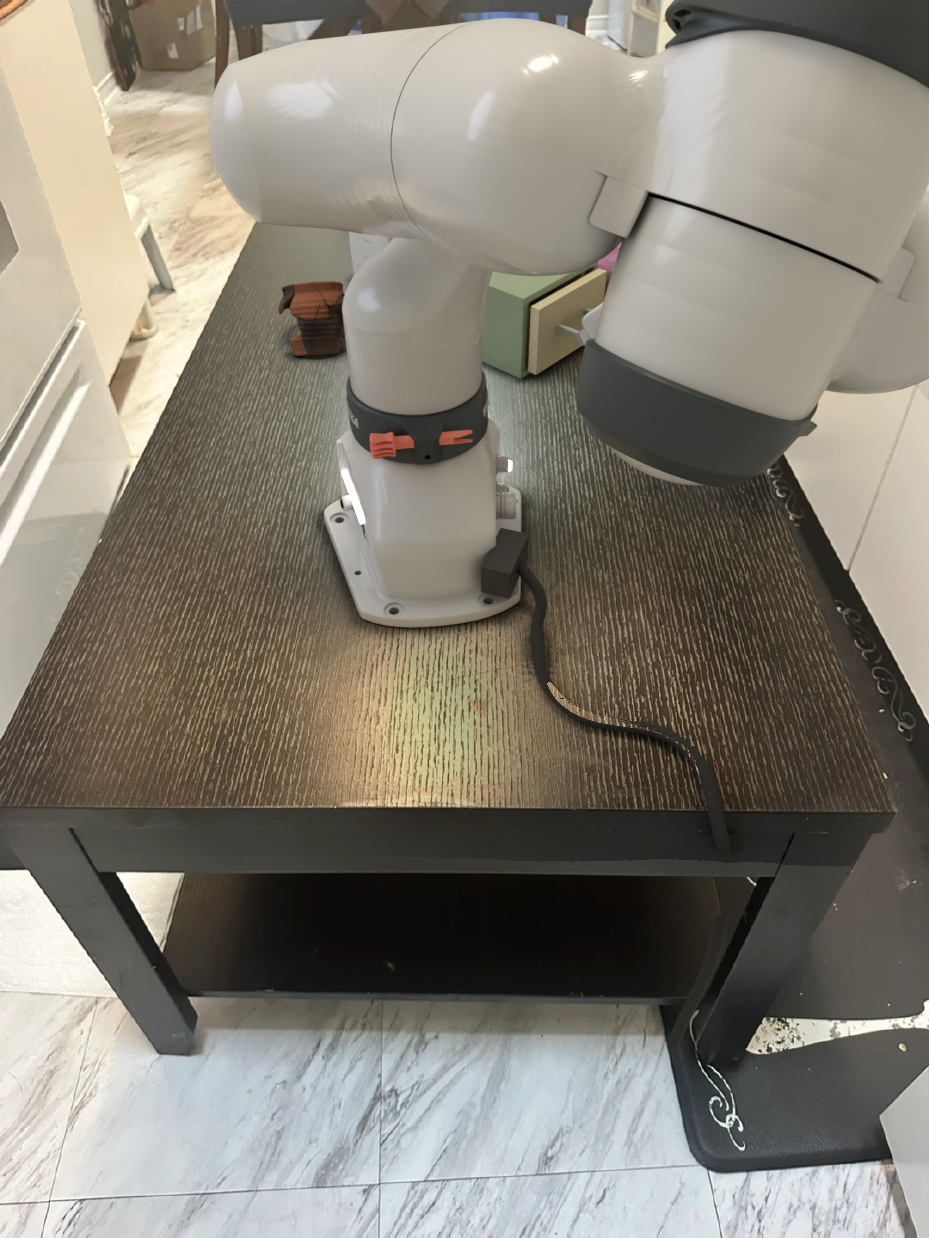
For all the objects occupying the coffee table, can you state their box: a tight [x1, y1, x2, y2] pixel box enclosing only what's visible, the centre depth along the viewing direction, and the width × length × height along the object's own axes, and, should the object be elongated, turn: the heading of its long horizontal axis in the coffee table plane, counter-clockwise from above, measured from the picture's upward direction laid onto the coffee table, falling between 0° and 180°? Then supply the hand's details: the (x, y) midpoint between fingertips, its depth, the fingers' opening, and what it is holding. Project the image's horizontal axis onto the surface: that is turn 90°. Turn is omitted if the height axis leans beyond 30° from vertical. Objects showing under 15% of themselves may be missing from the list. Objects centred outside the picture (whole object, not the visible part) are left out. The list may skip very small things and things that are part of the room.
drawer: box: [526, 268, 607, 376], centre depth 103 cm, size 20×12×8 cm, turn 48°
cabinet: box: [482, 262, 598, 380], centre depth 105 cm, size 17×14×10 cm
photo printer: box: [348, 232, 394, 275], centre depth 113 cm, size 10×4×12 cm, turn 39°
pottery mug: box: [277, 280, 346, 357], centre depth 106 cm, size 12×10×8 cm
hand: (612, 322), depth 97 cm, fingers open, 8 cm apart
